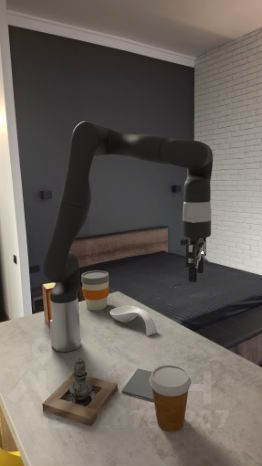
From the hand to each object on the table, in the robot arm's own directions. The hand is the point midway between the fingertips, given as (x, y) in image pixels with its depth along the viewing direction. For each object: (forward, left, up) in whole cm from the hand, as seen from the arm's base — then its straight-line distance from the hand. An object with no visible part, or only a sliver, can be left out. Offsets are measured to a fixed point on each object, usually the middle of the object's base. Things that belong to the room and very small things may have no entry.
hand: (196, 277), depth 89 cm
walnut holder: (-25, -22, -29) cm, 44 cm away
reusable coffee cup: (-53, +34, -30) cm, 69 cm away
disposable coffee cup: (-1, -21, -30) cm, 36 cm away
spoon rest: (-30, +24, -30) cm, 49 cm away
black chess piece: (-25, -22, -30) cm, 45 cm away
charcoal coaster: (-11, -10, -29) cm, 33 cm away
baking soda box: (-60, +15, -30) cm, 68 cm away
